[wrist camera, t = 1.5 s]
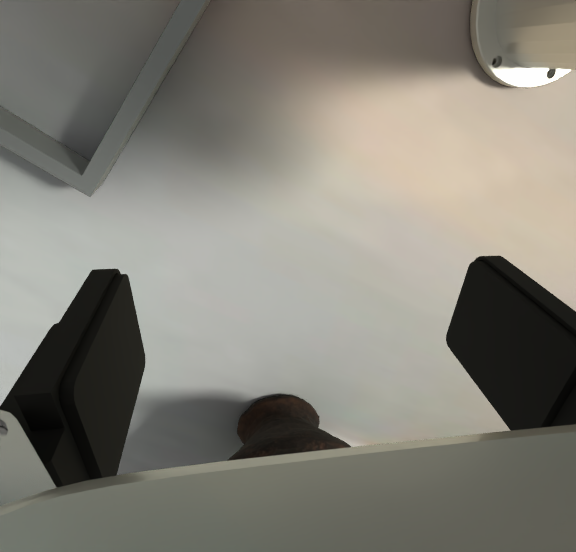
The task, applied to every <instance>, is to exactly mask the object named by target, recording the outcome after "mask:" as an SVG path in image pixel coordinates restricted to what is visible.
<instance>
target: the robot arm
mask: <svg viewBox="0 0 576 552" xmlns="http://www.w3.org/2000/svg"><path fill="white" fill-rule="evenodd" d="M470 34H471V39H472V45H473V50H474V52H475V55H476V58H477V60H478V62H479V64H480V65H481V67H482V68H483V70H484V71H485V73H486V74H488V75H489V76H490V77H491V78H492V79H493V80H495V81H497V82H499V83H501V84H503V85H505V86H510V87H515V88H533V87H539V86H543V85H545V84H548V83H551V82H553V81H555V80H557V79H559V78H560V77H562V76H564V75H565V74H567V73H568V72H570V71H571V70H576V0H473V1H472V8H471V15H470ZM492 61H493V62H492ZM446 341H447V345H448V347H449V348H450V350H451V351H452V352H453V354H454V355H455V356H456V358H457V359H458V360H459V362H460V363H461V364H462V366H463V367H464V368H465V370H466V371H467V373H468V374H469V375H470V377H471V378H472V379H473V381H474V382H475V383H476V385H477V386H478V387H479V389H480V390H481V391H482V393H483V394H484V395H485V397H486V398H487V399H488V401H489V402H490V403H491V405H492V406H493V407H494V409H495V410H496V411H497V413H498V414H499V415H500V417H501V418H502V419H503V421H504V422H505V423H506V425H507V426H508V427H509V429H510V430H511V431H503V432H493V433H483V434H473V435H463V436H454V437H444V438H434V439H425V440H415V441H406V442H396V443H387V444H377V445H368V446H358V447H349V448H339V449H330V450H321V451H312V452H303V453H294V454H285V455H276V456H267V457H257V458H248V459H239V460H230V461H221V462H213V463H205V464H197V465H189V466H181V467H173V468H166V469H158V470H150V471H142V472H134V473H128V474H122V475H117V471H118V467H119V463H120V459H121V456H122V452H123V448H124V444H125V440H126V437H127V433H128V429H129V425H130V422H131V418H132V414H133V410H134V406H135V403H136V399H137V395H138V391H139V387H140V384H141V380H142V376H143V372H144V368H145V353H144V348H143V343H142V339H141V334H140V329H139V324H138V320H137V315H136V310H135V306H134V301H133V296H132V291H131V287H130V282H129V278H128V276H127V275H126V274H120V271H119V270H118V269H98V270H92V271H91V272H90V274H89V276H88V277H87V279H86V280H85V282H84V284H83V285H82V287H81V288H80V290H79V292H78V293H77V295H76V296H75V298H74V300H73V301H72V303H71V304H70V306H69V308H68V309H67V311H66V312H65V314H64V316H63V317H62V319H61V320H60V322H59V323H57V324H54V325H53V326H52V327H51V328H50V330H49V331H48V333H47V335H46V336H45V338H44V339H43V341H42V342H41V344H40V345H39V347H38V349H37V350H36V352H35V353H34V355H33V356H32V358H31V359H30V361H29V363H28V364H27V366H26V367H25V369H24V370H23V372H22V374H21V375H20V377H19V378H18V380H17V381H16V383H15V384H14V386H13V388H12V389H11V391H10V392H9V394H8V395H7V397H6V398H5V400H4V402H3V403H2V405H1V406H0V552H576V312H575V311H574V310H573V309H571V308H570V307H569V306H567V305H566V304H565V303H563V302H562V301H561V300H559V299H558V298H557V297H555V296H554V295H553V294H551V293H550V292H549V291H547V290H546V289H545V288H543V287H542V286H541V285H539V284H538V283H537V282H535V281H534V280H533V279H531V278H530V277H529V276H527V275H526V274H525V273H523V272H522V271H521V270H519V269H518V268H517V267H515V266H514V265H513V264H511V263H510V262H509V261H507V260H506V259H505V258H503V257H501V256H480V257H478V258H476V259H475V261H474V262H472V263H471V264H470V265H469V267H468V270H467V273H466V276H465V280H464V283H463V286H462V289H461V292H460V295H459V298H458V301H457V304H456V307H455V310H454V313H453V316H452V319H451V323H450V326H449V329H448V332H447V335H446Z"/></svg>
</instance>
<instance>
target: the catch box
mask: <svg viewBox="0 0 576 552" xmlns="http://www.w3.org/2000/svg"><path fill="white" fill-rule="evenodd" d="M210 1H211V0H181V1H180V3H179V5H178V7H177V8H176V10H175V12H174V14H173V16H172V17H171V19H170V21H169V23H168V24H167V26H166V28H165V30H164V31H163V33H162V35H161V37H160V39H159V40H158V42H157V44H156V46H155V47H154V49H153V51H152V53H151V54H150V56H149V58H148V60H147V62H146V63H145V65H144V67H143V69H142V70H141V72H140V74H139V76H138V77H137V79H136V81H135V83H134V85H133V86H132V88H131V90H130V92H129V93H128V95H127V97H126V99H125V101H124V102H123V104H122V106H121V108H120V109H119V111H118V113H117V115H116V116H115V118H114V120H113V122H112V124H111V125H110V127H109V129H108V131H107V132H106V134H105V136H104V138H103V139H102V141H101V143H100V145H99V147H98V148H97V150H96V152H95V154H94V155H93V157H92V159H91V161H88V160H87V159H85V158H84V157H82V156H80V155H79V154H77V153H75V152H74V151H72V150H71V149H69V148H67V147H66V146H64V145H63V144H61V143H59V142H58V141H56V140H54V139H53V138H51V137H50V136H48V135H46V134H45V133H43V132H41V131H40V130H38V129H37V128H35V127H33V126H32V125H30V124H29V123H27V122H25V121H24V120H22V119H20V118H19V117H17V116H16V115H14V114H12V113H11V112H9V111H8V110H6V109H4V108H3V107H1V106H0V145H1V146H3V147H4V148H6V149H8V150H9V151H11V152H13V153H15V154H16V155H18V156H20V157H22V158H23V159H25V160H27V161H29V162H30V163H32V164H34V165H35V166H37V167H39V168H41V169H42V170H44V171H46V172H48V173H49V174H51V175H53V176H55V177H56V178H58V179H60V180H61V181H63V182H65V183H67V184H68V185H70V186H72V187H74V188H75V189H77V190H79V191H81V192H82V193H84V194H86V195H87V196H89V197H91V196H92V195H93V194H94V193H95V191H96V190H97V189H98V188H99V187H100V186H101V185H102V184H103V182H104V180H105V179H106V177H107V175H108V173H109V172H110V170H111V168H112V167H113V165H114V163H115V162H116V160H117V158H118V157H119V155H120V153H121V151H122V150H123V148H124V146H125V145H126V143H127V141H128V140H129V138H130V136H131V134H132V133H133V131H134V129H135V128H136V126H137V124H138V123H139V121H140V119H141V118H142V116H143V114H144V112H145V111H146V109H147V107H148V106H149V104H150V102H151V101H152V99H153V97H154V96H155V94H156V92H157V90H158V89H159V87H160V85H161V84H162V82H163V80H164V79H165V77H166V75H167V74H168V72H169V70H170V68H171V67H172V65H173V63H174V62H175V60H176V58H177V57H178V55H179V53H180V52H181V50H182V48H183V46H184V45H185V43H186V41H187V40H188V38H189V36H190V35H191V33H192V31H193V30H194V28H195V26H196V24H197V23H198V21H199V19H200V18H201V16H202V14H203V13H204V11H205V9H206V8H207V6H208V4H209V2H210Z"/></svg>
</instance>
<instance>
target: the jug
mask: <svg viewBox="0 0 576 552" xmlns="http://www.w3.org/2000/svg"><path fill="white" fill-rule="evenodd" d="M319 424H320V423H319V416H318V415H317V413H316V411H315V409H314V408H313V407H312V406H311V405H310V404H309V403H307V402H306V401H304V400H303V399H300V398H299V397H296V396H287V395H282V396H274V397H269V398H265V399H262V400H259V401H257V402H256V403H254V404H252V405H251V406H250V407H249V409H248V411H245V412H244V413H243V414H242V415H241V417H240V419H239V422H238V428H237V434H238V435H239V437H240V439H241V441H242V442H243V443H244V446H243V447H242V448H241V449H240V450H239V451H238V452H237V453H235V454H234V455H233V456H232V457H231V458H230V459H229V460H228V461H230V460H239V459H248V458H257V457H267V456H276V455H285V454H294V453H303V452H312V451H321V450H330V449H339V448H349V447H351V446H350V445H348V444H347V443H345V442H344V441H342V440H340V439H338V438H336V437H333V436H332V435H330V434H329V433H327V432H325V431H323V430H321V429H319V428H318V426H319Z"/></svg>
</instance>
